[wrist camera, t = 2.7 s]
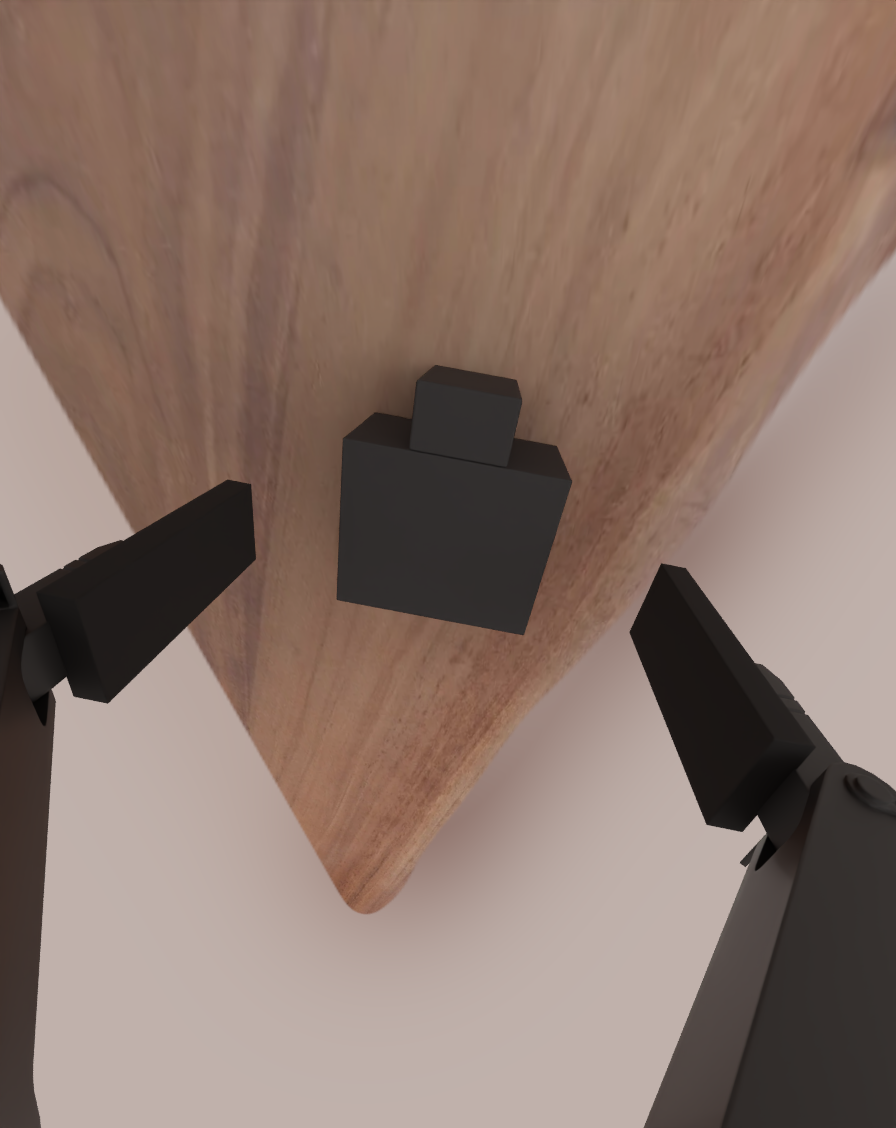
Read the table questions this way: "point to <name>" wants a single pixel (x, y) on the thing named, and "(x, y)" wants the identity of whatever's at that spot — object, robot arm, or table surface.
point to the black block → (449, 506)
